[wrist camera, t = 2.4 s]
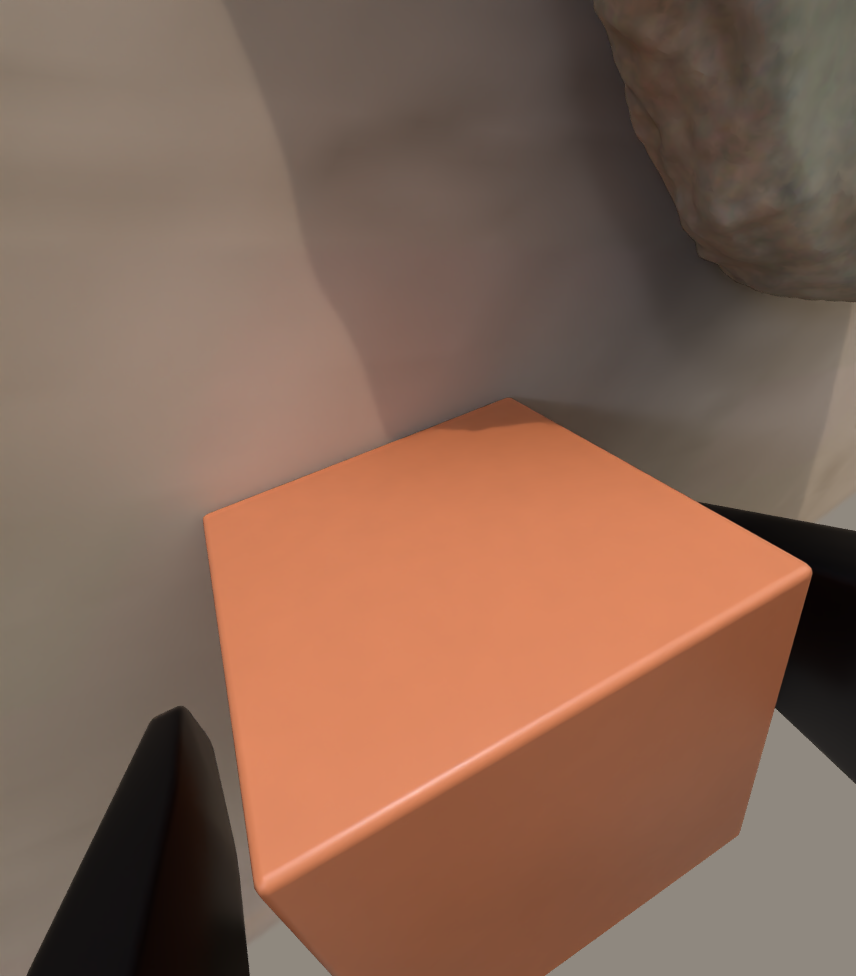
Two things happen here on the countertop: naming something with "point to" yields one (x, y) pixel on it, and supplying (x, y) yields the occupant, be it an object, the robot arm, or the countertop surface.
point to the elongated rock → (750, 131)
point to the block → (489, 692)
